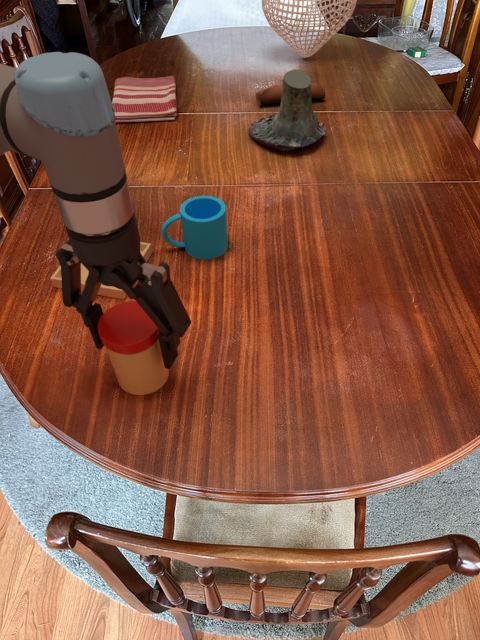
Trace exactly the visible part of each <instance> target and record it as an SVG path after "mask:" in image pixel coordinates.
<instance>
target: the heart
mask: <svg viewBox="0 0 480 640" xmlns="http://www.w3.org/2000/svg"><path fill="white" fill-rule="evenodd" d="M285 1H286V0H283V2H282V1H281V0H261V9H262V12H263V15H264V17H265V19H266V21H267V23H268V25H269V26H270V28H271V29H272V30H273V31H274V32H275V33H276V34H277V36H279V37H280V38H281V39H282V40H283V41H284V43H286V44H287V45H288V46H289V47H290V48H291V50H292V51H294V52H295V54H297V55H298V56H300V57H302V58H310V57H312V56H313V55H315V54H316V53H317V52H318V51H319V50H320V49H321V48H322V47H323V46H325V44H327V42H328V41H329V40H331V38H333V37H334V36H335V35H336V34H337V33H338V32H339V31H340V30H341V29H342V28H343V27H344V26H345V25H346V23H347V22H349V20H350V18H351V17H352V15H353V13H354V11H355V8H356V6H357V0H332V3H331V0H292V3H290V1H291V0H287V3H286V2H285ZM296 2H297V3H296ZM300 2H301V5H300ZM305 2H306V5H305ZM309 2H310V4H309ZM327 2H328V4H327ZM323 3H324V5H322V4H323ZM342 4H343V5H342ZM346 4H347V5H346ZM318 5H319V6H318ZM332 6H333V7H332ZM285 7H286V9H285ZM336 7H338V8H337V9H336ZM290 8H291V10H290ZM295 8H296V11H295ZM300 8H301V11H300ZM328 8H329V9H328ZM304 9H305V11H304ZM309 9H310V10H309ZM275 11H276V13H275ZM299 11H300V12H299ZM279 13H280V14H279ZM284 14H285V15H284ZM289 14H290V17H288V16H289ZM294 15H296V16H295V18H293V17H294ZM327 15H329V17H327ZM299 16H300V17H299ZM323 17H324V18H323ZM322 18H323V19H322ZM288 21H289V22H288ZM316 22H317V23H316ZM318 22H319V23H318ZM321 27H322V28H323V29H321ZM328 27H329V28H328ZM294 28H295V29H294ZM299 28H300V29H299ZM316 28H318V29H316ZM310 33H311V34H310ZM314 33H316V34H314ZM296 34H297V35H296ZM313 37H314V38H313ZM297 38H298V39H297ZM301 38H302V39H301Z"/></svg>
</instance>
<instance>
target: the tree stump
mask: <svg viewBox="0 0 480 640" xmlns="http://www.w3.org/2000/svg"><path fill="white" fill-rule="evenodd" d="M311 79H312V78H311V77H310V75H309V74H308V73H307V72H305V71H303V70H300V69H291V70H288V71H287V72H285V73H284V75H283V78H282V80H281V81H282V83H281V84H282V86H283V91H282V97H281V102H280V104H279V108H278V112H277V113H276V112H272V113H270V114H269V115H268V116H266V117H262V118H260V119H257V120H255V121H254V122H251V123H250V124H249V128H248V134H249V136H250V138H251V139H252V140H253V141H255V142H257V143H259V144H261V145H263V146H265V147H267V148H272V149H275V150H278V151H283V152H287V151H291V150H292V151H293V150H296V149H302V148H306V147H311V146H312V145H313V144H315V143H316V142H317V141H319V140H320V139H321V138H322V137H324V135H326V132H327V128H326V125H325V123H324V122H322V121H321V122H320V121H319V119H318V117H317V115H316V113H315V111H314V109H313V102H312V100H313V99H312V98H311V83H312V80H311ZM311 144H312V145H311ZM307 145H308V146H307ZM302 146H303V147H302ZM297 147H298V148H297ZM292 148H293V149H292Z"/></svg>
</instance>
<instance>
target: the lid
mask: <svg viewBox="0 0 480 640" xmlns="http://www.w3.org/2000/svg"><path fill="white" fill-rule="evenodd" d="M98 331H99V336H100V339H101V340H102V343H103V344H104V347H105V348H106V347H107V349H109V350H111V351H113V352H116V353H120V354H132V353H138V352H141V351H143V350H146V349H147V348H149V347H150V346H152V345H153V344H154V343H155V342H156V341H157V340H158V335H159V333H160V332H161V331H160V330H159V329H158V327H157V326H156V325H155V324H154V322H153V321H152V320H151V319H150V318H149V316H148V315H147V314H146V313H145V311H144V310H143V309H142V308H141V307H140V305H139V304H138V303H137V302H136V300H130V301H123V302H120V303H117V304H115V305H113V306H111V307H109V308H108V309H106V310H105V311H103V315H102V316H101V318H100V319H99V322H98ZM107 349H106V350H107Z"/></svg>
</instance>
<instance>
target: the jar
mask: <svg viewBox="0 0 480 640" xmlns="http://www.w3.org/2000/svg"><path fill="white" fill-rule="evenodd" d="M105 350H106V352H107V354H108V357H109V361H110V363H111V366H112V369H113V372H114V376H115V378H116V379H117V383H118V386H119V387H120V388H121V389H122V390H123V391H124V392H125V393H127V394H131V395H135V396H145V395H150V394H153V393H155V392H157V391H159V390H160V389H161V388H163V386H165V384H166V383H167V381H168V379H169V377H170V376H169V375H170V369H167V368H165V366H164V362H163V357H162V353H161V348H160V344H159V340H157V341H156V342H155V343H154V344H153V345H152V346H150V347H149V348H147V349H146V350H143V351H141V352H138V353H132V354H120V353H116V352H113V351H111V350H109V349H107V347H105Z"/></svg>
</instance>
